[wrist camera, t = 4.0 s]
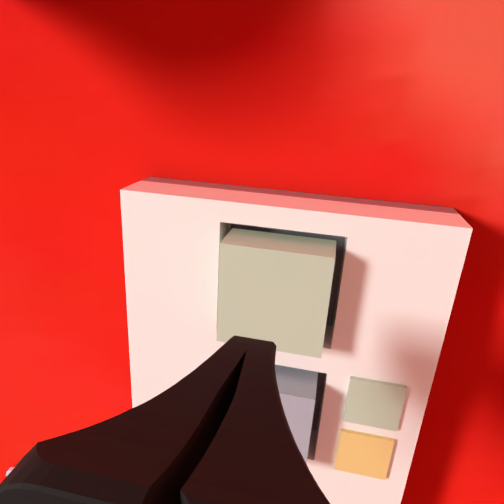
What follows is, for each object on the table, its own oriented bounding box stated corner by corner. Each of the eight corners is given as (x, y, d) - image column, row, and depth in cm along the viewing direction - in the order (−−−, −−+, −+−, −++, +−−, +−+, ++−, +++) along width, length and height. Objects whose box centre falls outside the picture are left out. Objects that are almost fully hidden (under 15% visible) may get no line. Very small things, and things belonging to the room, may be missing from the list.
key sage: (228, 317, 20) (216, 340, 18) (232, 227, 18) (219, 243, 16) (323, 332, 19) (321, 358, 17) (336, 240, 17) (335, 258, 15)
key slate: (223, 426, 22) (212, 456, 20) (226, 355, 20) (215, 381, 19) (308, 443, 21) (304, 476, 19) (317, 371, 20) (315, 399, 18)
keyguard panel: (159, 477, 28) (137, 522, 25) (150, 176, 21) (117, 190, 18) (376, 527, 25) (380, 583, 23) (453, 208, 18) (474, 229, 15)
